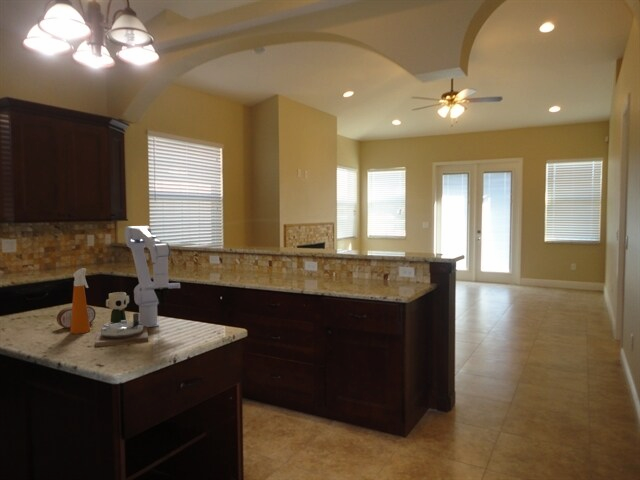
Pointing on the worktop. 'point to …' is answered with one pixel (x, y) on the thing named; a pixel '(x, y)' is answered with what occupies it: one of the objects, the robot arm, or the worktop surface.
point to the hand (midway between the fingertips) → (161, 307)
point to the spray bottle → (79, 304)
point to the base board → (121, 339)
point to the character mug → (117, 306)
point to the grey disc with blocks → (123, 328)
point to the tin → (66, 315)
